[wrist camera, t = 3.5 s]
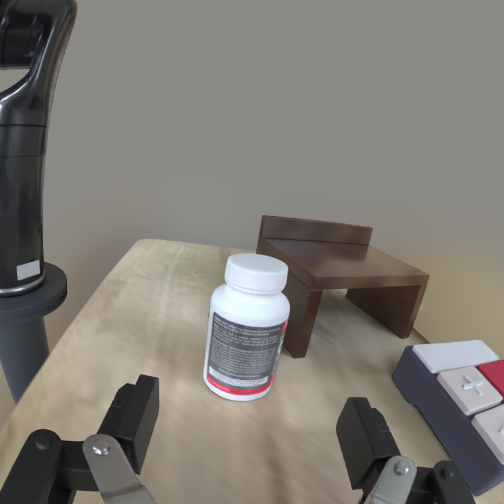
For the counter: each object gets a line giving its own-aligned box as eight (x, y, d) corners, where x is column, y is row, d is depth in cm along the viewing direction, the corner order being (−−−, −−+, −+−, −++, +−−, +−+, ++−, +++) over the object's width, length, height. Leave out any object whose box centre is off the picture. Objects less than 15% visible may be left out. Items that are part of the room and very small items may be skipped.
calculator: (509, 466, 10) (407, 337, 24) (469, 503, 11) (389, 376, 25) (569, 419, 12) (481, 333, 26) (540, 455, 13) (464, 365, 27)
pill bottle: (284, 396, 22) (315, 276, 19) (216, 409, 20) (234, 278, 17) (254, 357, 27) (274, 249, 24) (194, 363, 24) (205, 248, 22)
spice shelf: (293, 358, 27) (320, 247, 24) (248, 300, 38) (262, 214, 35) (408, 337, 33) (436, 254, 30) (351, 296, 44) (369, 226, 41)
